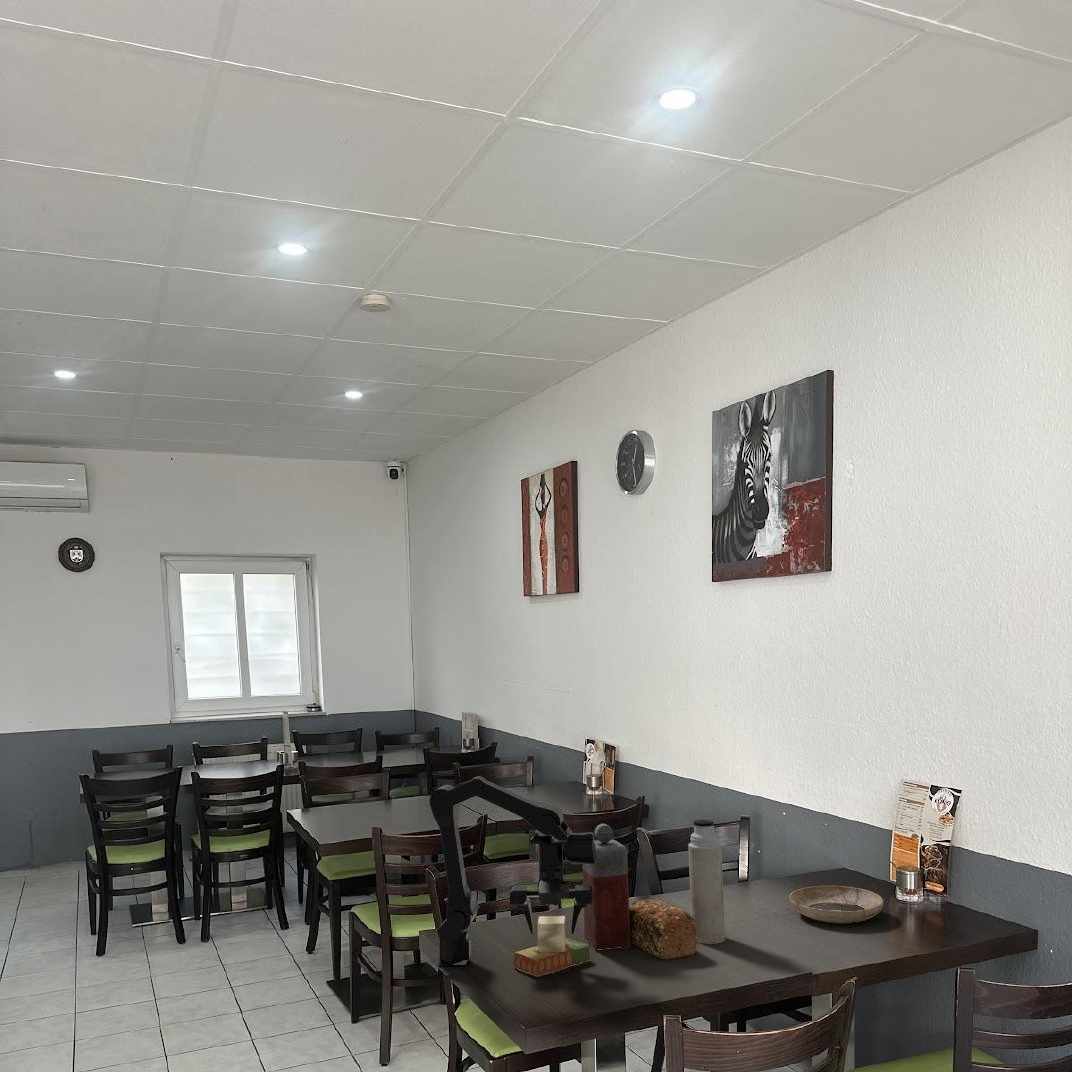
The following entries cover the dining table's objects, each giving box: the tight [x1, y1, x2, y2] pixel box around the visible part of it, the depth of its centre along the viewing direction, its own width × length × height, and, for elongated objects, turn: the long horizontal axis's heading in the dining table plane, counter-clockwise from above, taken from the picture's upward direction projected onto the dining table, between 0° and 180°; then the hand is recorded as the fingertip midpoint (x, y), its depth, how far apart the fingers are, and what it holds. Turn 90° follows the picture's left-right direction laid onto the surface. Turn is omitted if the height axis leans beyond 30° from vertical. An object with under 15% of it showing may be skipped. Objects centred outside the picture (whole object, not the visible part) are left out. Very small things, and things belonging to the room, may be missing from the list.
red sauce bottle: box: [582, 823, 631, 950], centre depth 231 cm, size 9×11×28 cm
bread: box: [629, 899, 698, 960], centre depth 226 cm, size 19×11×10 cm, turn 22°
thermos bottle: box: [688, 819, 726, 945], centre depth 231 cm, size 8×8×28 cm
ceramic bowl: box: [788, 885, 884, 924], centre depth 246 cm, size 23×24×5 cm
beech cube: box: [536, 915, 567, 952], centre depth 215 cm, size 6×6×6 cm
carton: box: [513, 937, 592, 975], centre depth 215 cm, size 8×16×4 cm, turn 130°
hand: (552, 933), depth 215 cm, fingers open, 9 cm apart
